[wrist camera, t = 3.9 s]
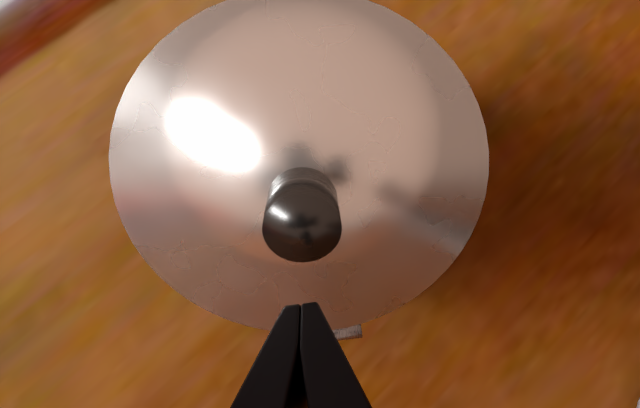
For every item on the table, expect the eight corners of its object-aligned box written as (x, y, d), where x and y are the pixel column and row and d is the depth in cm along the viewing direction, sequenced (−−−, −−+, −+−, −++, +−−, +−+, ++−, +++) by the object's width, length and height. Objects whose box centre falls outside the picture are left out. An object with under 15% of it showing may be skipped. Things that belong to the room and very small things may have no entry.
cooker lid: (468, 314, 18) (496, 369, 15) (190, 348, 18) (171, 407, 15) (492, -45, 11) (547, -56, 8) (53, 23, 11) (-19, 32, 9)
